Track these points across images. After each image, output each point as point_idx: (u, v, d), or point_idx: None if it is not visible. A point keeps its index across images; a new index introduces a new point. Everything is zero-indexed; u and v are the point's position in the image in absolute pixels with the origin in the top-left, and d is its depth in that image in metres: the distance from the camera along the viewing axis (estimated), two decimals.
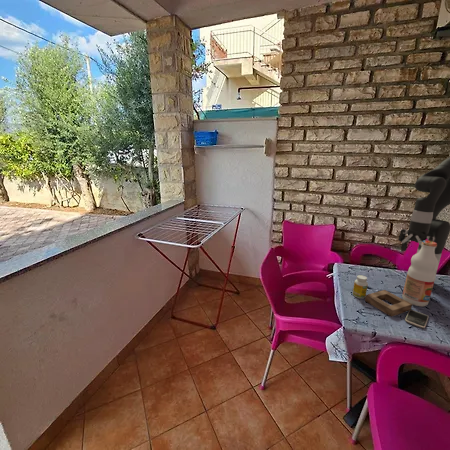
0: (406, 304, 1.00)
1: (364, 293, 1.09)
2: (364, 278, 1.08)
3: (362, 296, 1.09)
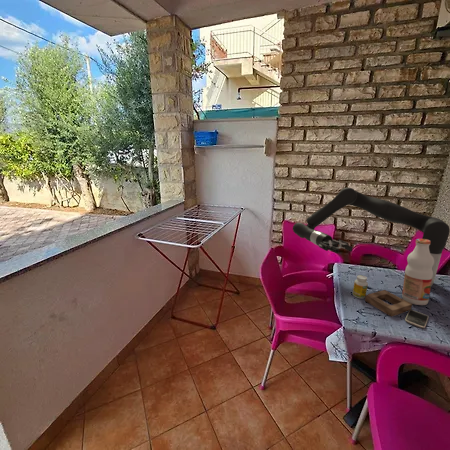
0: (406, 304, 1.00)
1: (364, 293, 1.09)
2: (364, 278, 1.08)
3: (362, 296, 1.09)
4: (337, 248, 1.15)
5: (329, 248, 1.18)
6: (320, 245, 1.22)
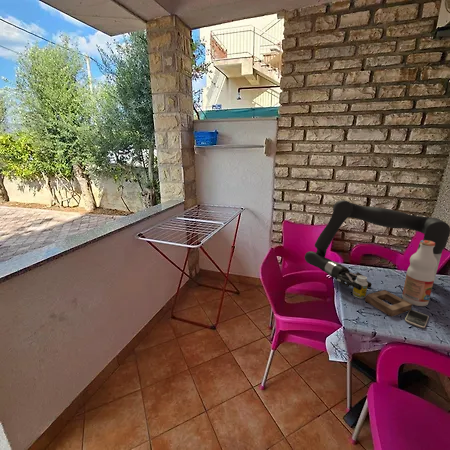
0: (406, 304, 1.00)
1: (364, 293, 1.09)
2: (364, 278, 1.08)
3: (362, 296, 1.09)
4: (359, 284, 1.07)
5: (350, 284, 1.10)
6: (339, 280, 1.14)
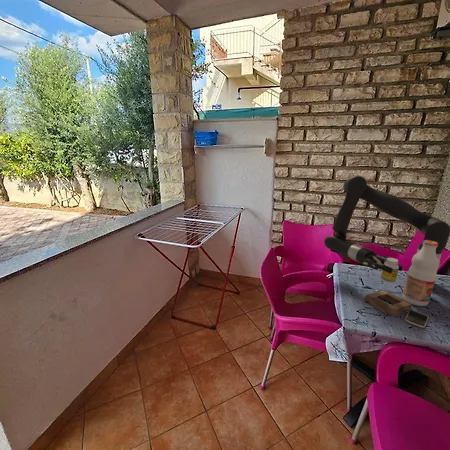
0: (406, 304, 1.00)
1: (394, 276, 0.99)
2: (395, 260, 0.99)
3: (392, 280, 1.00)
4: (390, 267, 0.98)
5: (379, 267, 1.01)
6: (366, 263, 1.04)
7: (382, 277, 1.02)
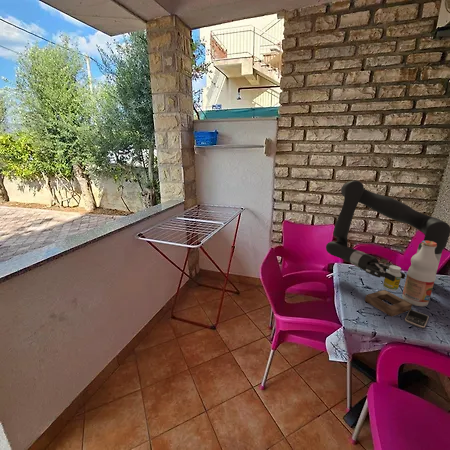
0: (406, 304, 1.00)
1: (397, 284, 0.99)
2: (398, 268, 0.99)
3: (395, 288, 1.00)
4: (393, 275, 0.98)
5: (382, 274, 1.00)
6: (368, 270, 1.04)
7: (384, 285, 1.02)
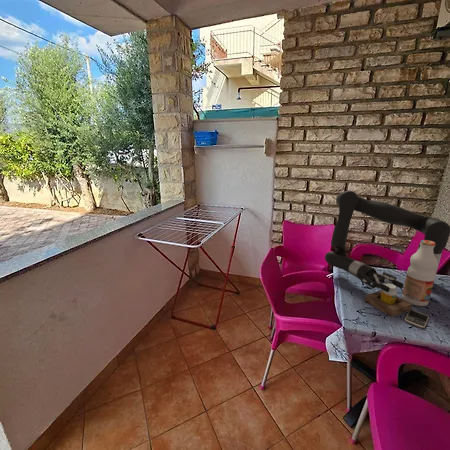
0: (406, 304, 1.00)
1: (393, 302, 1.01)
2: (393, 287, 1.01)
3: None
4: (387, 286, 0.99)
5: (376, 285, 1.02)
6: (364, 280, 1.06)
7: None
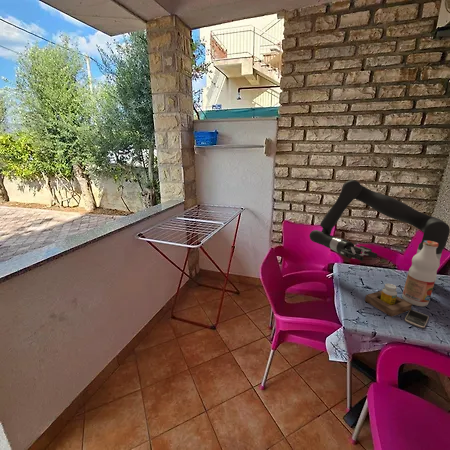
0: (406, 304, 1.00)
1: (393, 303, 1.01)
2: (393, 287, 1.01)
3: None
4: None
5: (352, 256, 1.12)
6: (342, 253, 1.16)
7: None
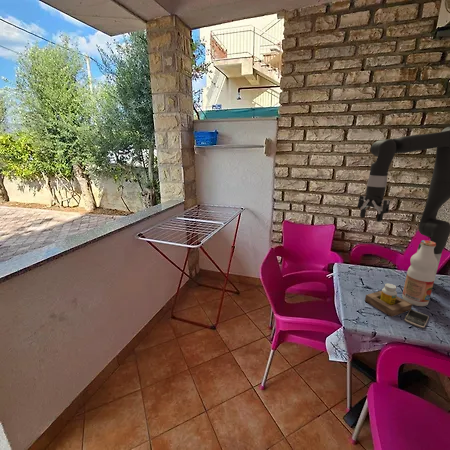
0: (406, 304, 1.00)
1: (393, 302, 1.01)
2: (393, 287, 1.01)
3: None
4: None
5: (383, 213, 1.10)
6: (387, 203, 1.07)
7: None
